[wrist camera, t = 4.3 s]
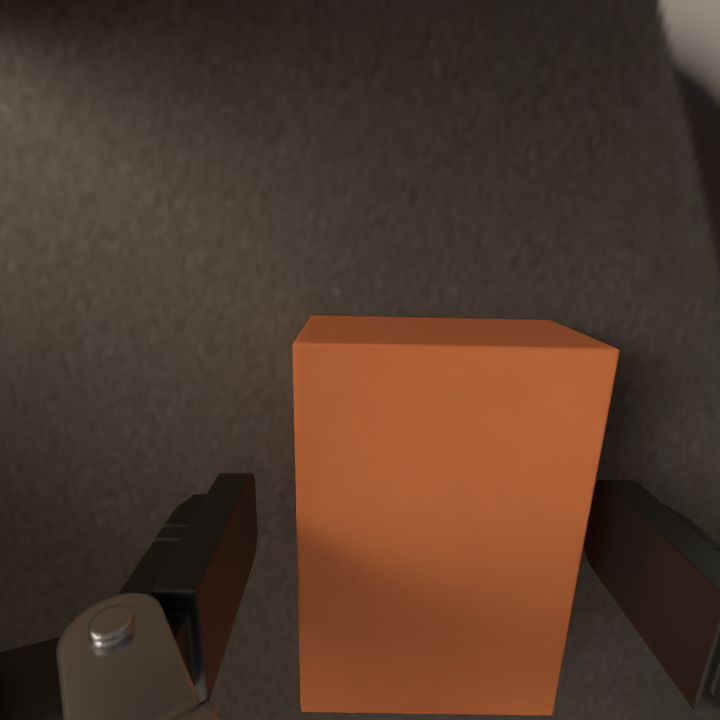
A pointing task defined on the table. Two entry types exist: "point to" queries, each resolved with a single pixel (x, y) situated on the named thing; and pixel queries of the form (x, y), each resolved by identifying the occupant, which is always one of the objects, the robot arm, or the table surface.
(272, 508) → the table surface
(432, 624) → the orange rectangular block
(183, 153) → the table surface
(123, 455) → the table surface
